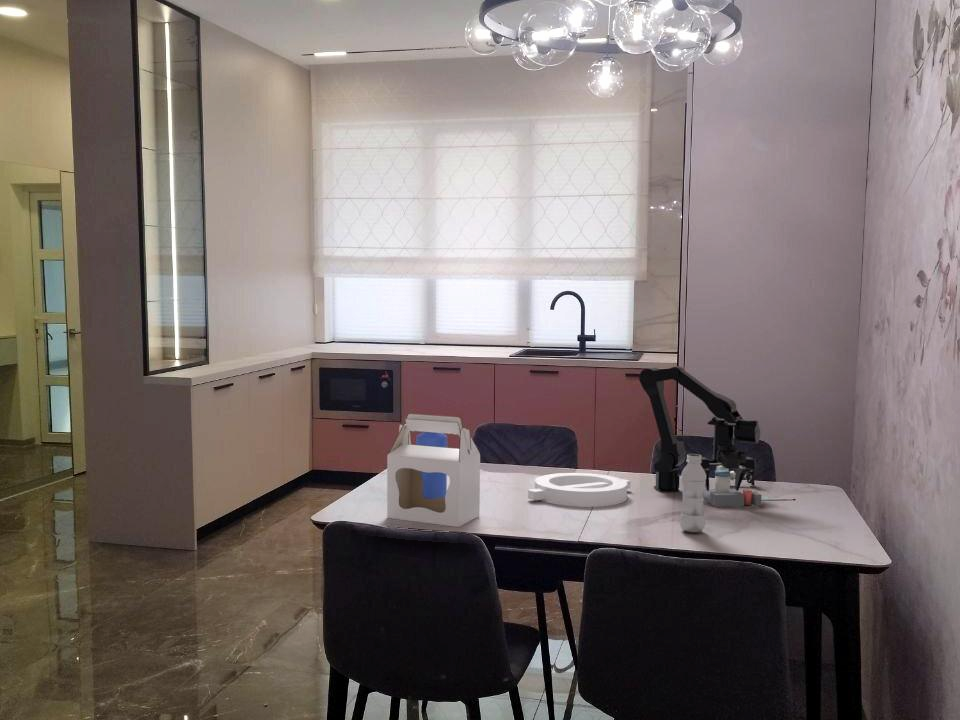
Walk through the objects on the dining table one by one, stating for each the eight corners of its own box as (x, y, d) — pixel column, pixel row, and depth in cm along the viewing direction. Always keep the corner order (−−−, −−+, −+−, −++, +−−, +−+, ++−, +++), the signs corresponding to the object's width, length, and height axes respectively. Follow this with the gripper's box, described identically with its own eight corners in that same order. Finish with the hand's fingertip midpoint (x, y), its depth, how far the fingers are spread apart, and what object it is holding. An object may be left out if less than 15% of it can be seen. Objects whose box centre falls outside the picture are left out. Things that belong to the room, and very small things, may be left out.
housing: (714, 506, 246) (715, 495, 246) (692, 492, 265) (692, 481, 265) (761, 506, 247) (761, 494, 247) (735, 492, 267) (735, 481, 266)
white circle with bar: (525, 503, 250) (525, 487, 249) (545, 484, 276) (545, 470, 276) (620, 510, 242) (621, 494, 241) (631, 491, 268) (632, 476, 268)
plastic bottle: (700, 528, 222) (702, 452, 220) (708, 535, 215) (710, 457, 214) (676, 528, 221) (678, 452, 220) (683, 535, 215) (685, 457, 213)
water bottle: (409, 500, 250) (410, 416, 249) (426, 494, 258) (426, 413, 257) (436, 504, 246) (437, 419, 244) (452, 498, 254) (453, 415, 252)
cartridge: (717, 499, 257) (718, 473, 256) (712, 495, 261) (712, 470, 261) (732, 498, 257) (733, 472, 256) (726, 495, 261) (727, 469, 261)
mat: (756, 500, 255) (757, 499, 255) (744, 493, 265) (744, 492, 265) (795, 500, 256) (795, 499, 256) (781, 493, 266) (781, 492, 266)
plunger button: (744, 504, 247) (744, 491, 247) (740, 502, 250) (741, 489, 250) (753, 504, 248) (753, 491, 247) (749, 502, 250) (749, 489, 250)
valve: (716, 486, 275) (754, 488, 272) (716, 466, 274) (755, 468, 272) (714, 482, 281) (752, 484, 279) (715, 463, 281) (752, 464, 278)
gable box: (385, 518, 230) (386, 415, 228) (409, 507, 242) (410, 410, 240) (459, 527, 220) (460, 421, 219) (480, 516, 232) (481, 415, 231)
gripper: (703, 444, 249) (701, 496, 250) (764, 444, 251) (762, 496, 252) (690, 438, 260) (689, 488, 261) (749, 438, 262) (747, 488, 263)
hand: (722, 490), depth 259 cm, fingers open, 9 cm apart
